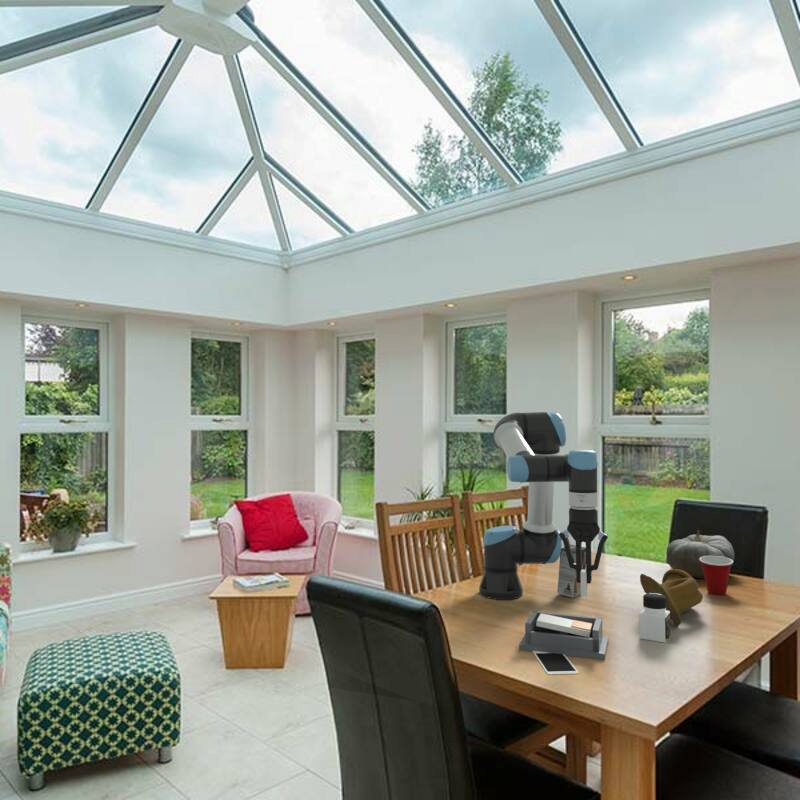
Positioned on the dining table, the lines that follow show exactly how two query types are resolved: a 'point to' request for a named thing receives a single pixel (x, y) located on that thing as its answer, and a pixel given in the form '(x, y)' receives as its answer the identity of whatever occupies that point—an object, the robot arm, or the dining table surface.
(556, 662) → the cell phone
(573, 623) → the rocker
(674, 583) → the brown cowboy hat
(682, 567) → the gourd
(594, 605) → the dining table surface
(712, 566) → the plastic cup
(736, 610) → the dining table surface
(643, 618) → the medicine bottle
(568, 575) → the coffee box
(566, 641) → the box
